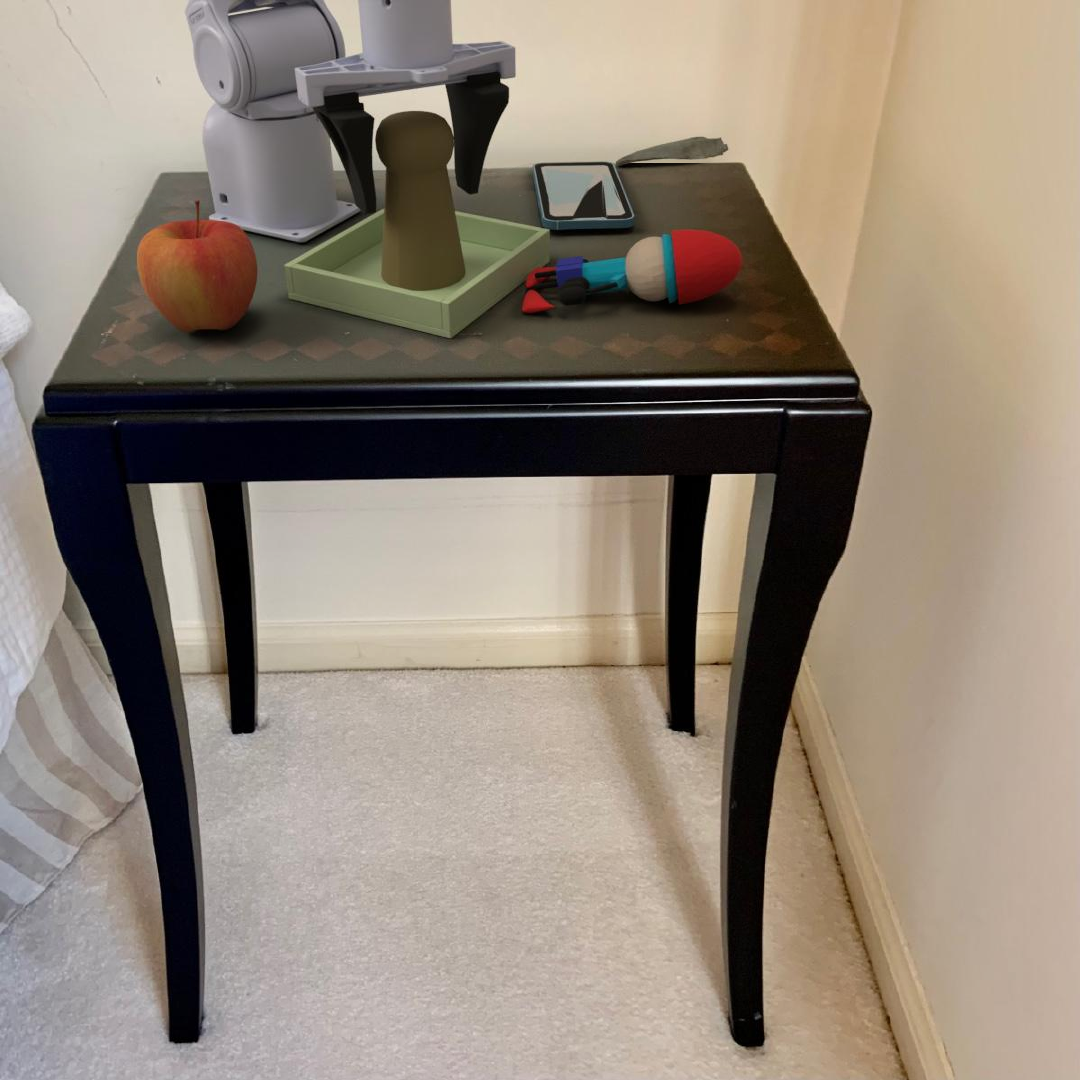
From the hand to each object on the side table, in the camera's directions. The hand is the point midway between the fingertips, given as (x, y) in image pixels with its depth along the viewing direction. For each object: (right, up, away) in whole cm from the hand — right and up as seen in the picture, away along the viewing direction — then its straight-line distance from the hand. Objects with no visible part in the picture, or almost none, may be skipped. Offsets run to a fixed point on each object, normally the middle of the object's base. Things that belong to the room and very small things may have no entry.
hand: (417, 199), depth 75 cm
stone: (+21, +11, +23) cm, 33 cm away
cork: (0, -4, +3) cm, 6 cm away
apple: (-13, -9, -2) cm, 17 cm away
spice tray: (0, -5, +4) cm, 6 cm away
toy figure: (+15, -7, +1) cm, 16 cm away
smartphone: (+12, +5, +16) cm, 21 cm away
